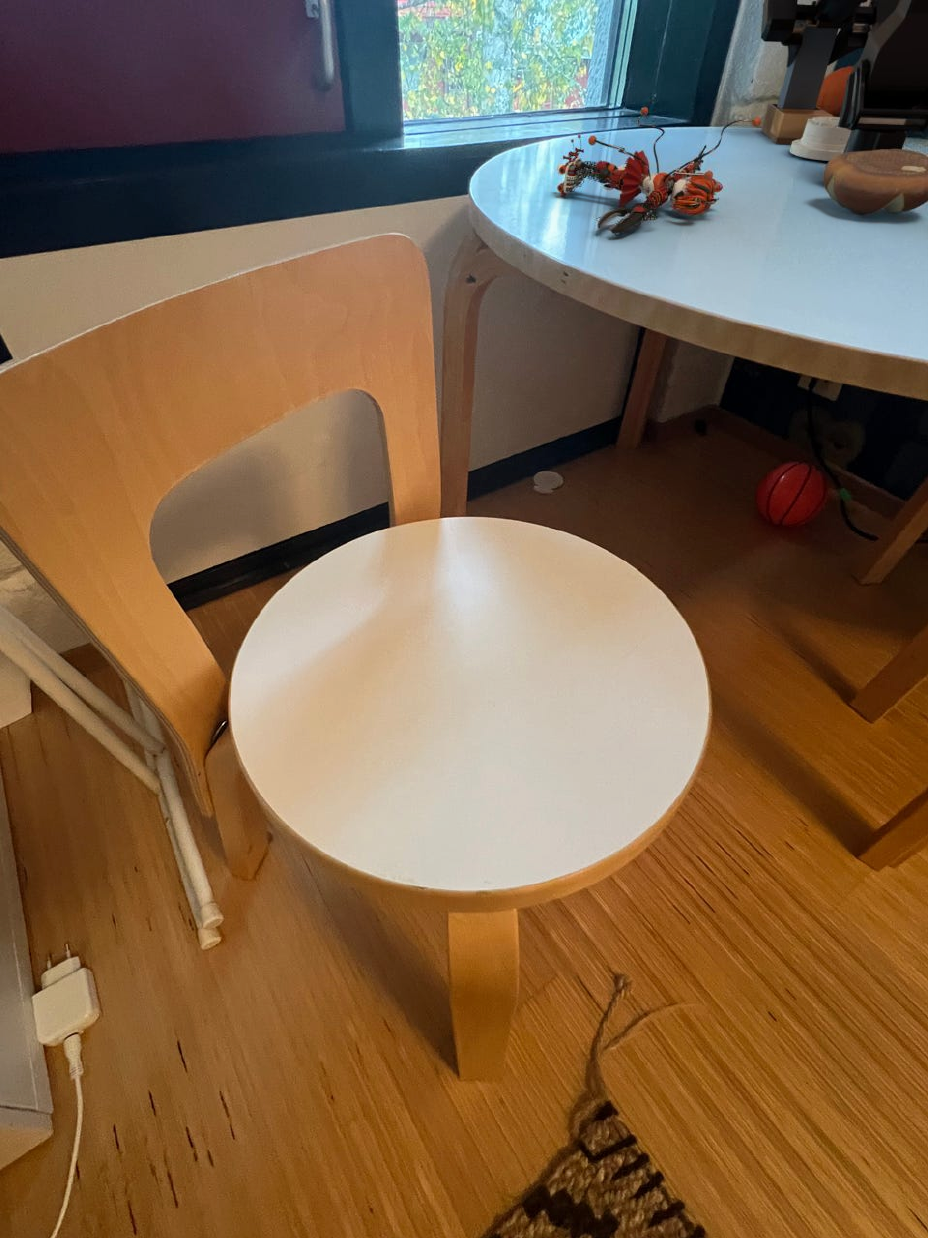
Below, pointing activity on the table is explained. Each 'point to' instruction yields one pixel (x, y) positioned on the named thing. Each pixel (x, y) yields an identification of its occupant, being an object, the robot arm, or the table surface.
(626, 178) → the striped bug figure
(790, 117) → the open wooden box
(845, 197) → the bread
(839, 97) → the fruit
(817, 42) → the grey tall block
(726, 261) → the table surface
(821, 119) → the mechanical component
